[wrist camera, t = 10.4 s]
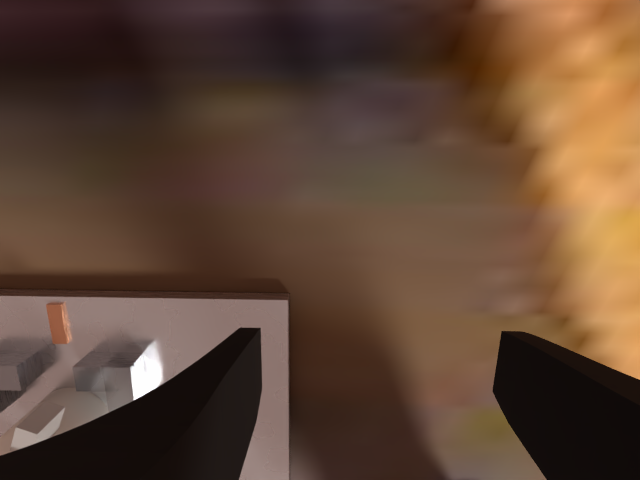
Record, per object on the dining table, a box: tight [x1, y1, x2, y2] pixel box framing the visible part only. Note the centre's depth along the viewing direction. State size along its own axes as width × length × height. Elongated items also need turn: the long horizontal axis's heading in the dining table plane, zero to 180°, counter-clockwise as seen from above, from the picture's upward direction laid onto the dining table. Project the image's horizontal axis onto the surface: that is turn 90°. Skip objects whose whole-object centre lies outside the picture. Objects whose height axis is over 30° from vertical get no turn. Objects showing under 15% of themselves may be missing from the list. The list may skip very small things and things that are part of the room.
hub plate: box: [0, 289, 290, 480], centre depth 21 cm, size 16×18×2 cm
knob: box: [0, 388, 109, 455], centre depth 18 cm, size 6×4×5 cm
